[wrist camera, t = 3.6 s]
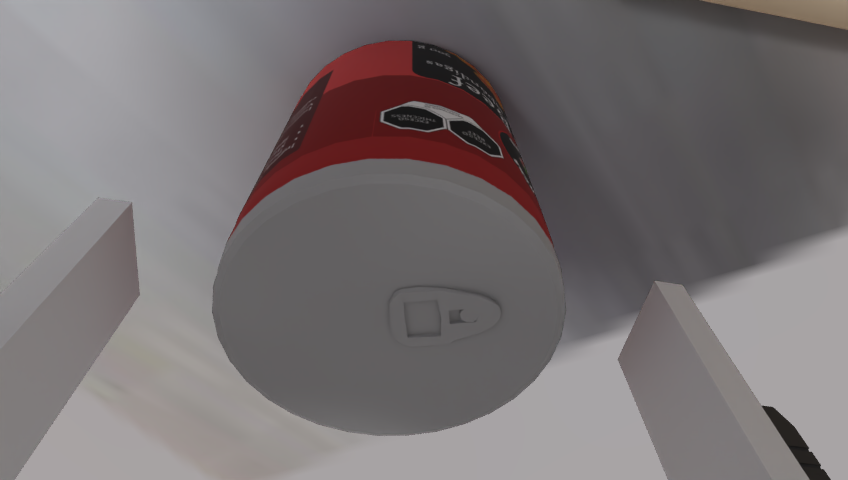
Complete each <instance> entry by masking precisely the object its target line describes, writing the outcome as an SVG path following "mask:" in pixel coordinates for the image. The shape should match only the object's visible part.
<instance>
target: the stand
mask: <svg viewBox="0 0 848 480" xmlns="http://www.w3.org/2000/svg"><path fill="white" fill-rule="evenodd" d="M701 1H706V2H711V3H716V4H721V5H726V6H731V7H736V8H741V9H746V10H751V11H756V12H761V13H766V14H771V15H776V16H781V17H786V18H791V19H796V20H801V21H806V22H811V23H816V24H821V25H826V26H831V27H836V28H841V29H846V30H848V0H701Z"/></svg>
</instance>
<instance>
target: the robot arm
mask: <svg viewBox="0 0 848 480" xmlns="http://www.w3.org/2000/svg"><path fill="white" fill-rule="evenodd" d="M139 295H140V292H139V281H138V269H137V257H136V246H135V234H134V222H133V210H132V202H126V201H119V200H112V199H105V198H99V197H98V198H97V199H96V200H95V201H94V202H93V203H92V204H91V205H90V206H89V207H88V208H87V209H86V210H85V211H84V212H83V213H82V214H81V215H80V216H79V217H78V218H77V219H76V220H75V221H74V222H73V223H72V224H71V225H70V226H69V227H68V228H67V229H66V230H65V231H64V232H63V233H62V234H61V235H60V236H59V237H58V238H57V239H56V240H55V241H54V242H53V243H52V244H51V245H50V246H49V247H48V248H47V249H45V250H44V251H43V252H42V253H41V254H40V255H39V256H38V257H37V258H36V259H35V260H34V261H33V262H32V263H31V264H30V265H29V266H28V267H27V268H26V269H25V270H24V271H23V272H22V273H21V274H20V275H19V276H18V277H17V278H16V279H15V280H14V281H13V282H12V283H11V284H10V285H9V286H8V287H7V288H6V289H5V290H4V291H3V292H2V293H1V294H0V480H15V478H16V477H17V475H18V474H19V472H20V471H21V469H22V468H23V467H24V465H25V464H26V462H27V461H28V459H29V458H30V456H31V455H32V453H33V452H34V450H35V449H36V447H37V446H38V444H39V443H40V441H41V440H42V438H43V437H44V435H45V434H46V433H47V431H48V429H49V428H50V427H51V425H52V424H53V422H54V421H55V419H56V418H57V416H58V415H59V413H60V412H61V410H62V409H63V407H64V406H65V404H66V403H67V401H68V400H69V398H70V397H71V396H72V394H73V393H74V391H75V390H76V388H77V387H78V385H79V384H80V382H81V381H82V379H83V378H84V376H85V375H86V373H87V372H88V370H89V369H90V367H91V366H92V364H93V363H94V362H95V360H96V359H97V357H98V356H99V354H100V353H101V351H102V350H103V348H104V347H105V345H106V344H107V342H108V341H109V339H110V338H111V336H112V335H113V333H114V332H115V330H116V329H117V328H118V326H119V325H120V323H121V322H122V320H123V319H124V317H125V316H126V314H127V313H128V311H129V310H130V308H131V307H132V305H133V304H134V302H135V301H136V299H137V298H138V296H139ZM618 361H619V363H620V366H621V368H622V370H623V373H624V375H625V378H626V380H627V382H628V385H629V387H630V389H631V392H632V394H633V397H634V399H635V402H636V404H637V406H638V409H639V411H640V414H641V416H642V418H643V421H644V423H645V426H646V428H647V430H648V433H649V435H650V437H651V440H652V442H653V445H654V447H655V450H656V452H657V454H658V457H659V459H660V462H661V464H662V467H663V469H664V471H665V473H666V476H667V479H668V480H831V479H830V478H829V477H828V475H827V473H826V472H825V471H824V470H823V469H821V468H820V466H821V465H820V464H819V462H818V460H817V459H816V458H815V456H814V455H813V453H812V452H809V450H808V449H809V447H808V446H807V445H806V443H805V441H804V440H803V439H802V437H801V436H800V435H799V433H798V431H797V430H796V428H795V427H794V426H793V425H792V424H791V423H790V422H789V421H788V420H786V419H785V418H784V417H783V416H782V415H781V414H780V413H779V412H778V411H777V410H776V409H774V408H773V407H767V406H761V405H760V403H759V402H758V400H757V399H756V397H755V395H754V394H753V392H752V391H751V389H750V388H749V386H748V385H747V383H746V382H745V380H744V379H743V377H742V376H741V374H740V373H739V371H738V369H737V368H736V366H735V365H734V363H733V362H732V360H731V359H730V357H729V356H728V354H727V352H726V351H725V349H724V348H723V346H722V345H721V343H720V342H719V340H718V339H717V337H716V336H715V334H714V333H713V331H712V329H711V328H710V326H709V325H708V323H707V322H706V320H705V319H704V317H703V316H702V314H701V313H700V311H699V310H698V308H697V307H696V305H695V303H694V302H693V300H692V299H691V297H690V296H689V294H688V293H687V291H686V290H685V288H684V287H683V285H680V284H674V283H667V282H660V281H654V283H653V285H652V287H651V289H650V291H649V294H648V296H647V298H646V300H645V302H644V304H643V306H642V309H641V311H640V313H639V315H638V317H637V319H636V321H635V324H634V326H633V328H632V330H631V332H630V334H629V336H628V339H627V341H626V343H625V345H624V347H623V349H622V352H621V354H620V356H619V358H618Z"/></svg>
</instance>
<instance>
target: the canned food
mask: <svg viewBox="0 0 848 480" xmlns="http://www.w3.org/2000/svg"><path fill="white" fill-rule="evenodd" d="M212 313H213V317H214V322H215V326H216V331H217V335H218V338H219V340H220V342H221V344H222V346H223V348H224V350H225V352H226V354H227V356H228V358H229V360H230V362H231V363H232V364H233V365H234V366H235V368H236V369H237V370H238V371H239V373H240V374H241V375H242V376H243V378H244V379H245V380H246V381H247V382H248V383H249V384H250V385H251V386H253V387H254V388H255V389H256V390H257V391H259V392H260V393H261V394H262V395H263V396H265V397H266V398H267V399H268V400H270V401H272V402H273V403H275V404H277V405H278V406H280V407H282V408H283V409H285V410H287V411H288V412H290V413H292V414H294V415H297V416H299V417H302V418H304V419H306V420H309V421H311V422H314V423H316V424H319V425H322V426H326V427H330V428H334V429H338V430H342V431H346V432H352V433H360V434H369V435H377V436H391V435H414V434H422V433H429V432H437V431H440V430H444V429H448V428H452V427H455V426H459V425H463V424H466V423H468V422H470V421H473V420H475V419H478V418H480V417H482V416H485V415H487V414H490V413H491V412H493V411H495V410H496V409H498V408H500V407H501V406H503V405H505V404H506V403H508V402H509V401H511V400H513V399H514V398H515V397H517V396H518V395H519V394H520V393H521V392H522V391H523V390H524V389H526V388H527V387H528V386H529V385H530V384H531V383H532V382H534V381H535V379H536V378H537V377H538V375H539V374H540V373H541V372H542V370H543V369H544V368H545V366H546V365H547V364H548V362H549V361H550V360H551V358H552V355H553V353H554V351H555V349H556V347H557V344H558V342H559V340H560V338H561V335H562V329H563V324H564V319H565V313H566V307H565V295H564V285H563V282H562V271H561V267H560V264H559V262H558V259H557V256H556V253H555V250H554V246H553V242H552V239H551V236H550V234H549V231H548V228H547V225H546V222H545V220H544V217H543V214H542V211H541V209H540V206H539V203H538V201H537V198H536V195H535V193H534V190H533V187H532V185H531V182H530V179H529V177H528V174H527V171H526V169H525V166H524V163H523V160H522V158H521V155H520V152H519V150H518V147H517V144H516V142H515V139H514V136H513V134H512V131H511V128H510V126H509V123H508V120H507V117H506V115H505V112H504V109H503V107H502V104H501V101H500V99H499V97H498V96H497V94H496V93H495V91H494V89H493V88H492V86H491V85H490V83H489V82H488V81H487V80H486V78H485V77H484V76H483V75H482V74H481V73H480V72H479V71H478V70H477V69H476V68H475V67H474V66H472V65H471V64H469V63H468V62H466V61H465V60H463V59H462V58H460V57H459V56H457V55H456V54H454V53H451V52H449V51H446V50H444V49H442V48H439V47H437V46H434V45H429V44H424V43H419V42H414V41H385V42H379V43H374V44H369V45H364V46H362V47H360V48H357V49H355V50H352V51H350V52H347V53H345V54H343V55H342V56H340V57H339V58H337V59H336V60H334V61H333V62H331V63H330V64H328V65H327V66H325V67H324V68H323V69H322V70H321V71H320V72H319V73H318V74H317V76H316V77H315V78H314V79H313V80H312V81H311V82H310V84H309V85H308V87H307V88H306V90H305V92H304V93H303V95H302V96H301V98H300V100H299V102H298V104H297V106H296V107H295V109H294V111H293V113H292V115H291V117H290V119H289V121H288V123H287V125H286V127H285V129H284V131H283V132H282V134H281V136H280V138H279V140H278V142H277V144H276V146H275V148H274V150H273V152H272V154H271V156H270V157H269V159H268V161H267V163H266V165H265V167H264V169H263V171H262V173H261V175H260V177H259V179H258V181H257V182H256V184H255V186H254V188H253V190H252V192H251V194H250V196H249V198H248V200H247V202H246V204H245V206H244V207H243V209H242V211H241V213H240V215H239V217H238V219H237V222H236V225H235V227H234V229H233V231H232V233H231V235H230V237H229V239H228V241H227V243H226V246H225V249H224V252H223V255H222V258H221V261H220V264H219V267H218V273H217V276H216V279H215V282H214V285H213V306H212Z"/></svg>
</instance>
